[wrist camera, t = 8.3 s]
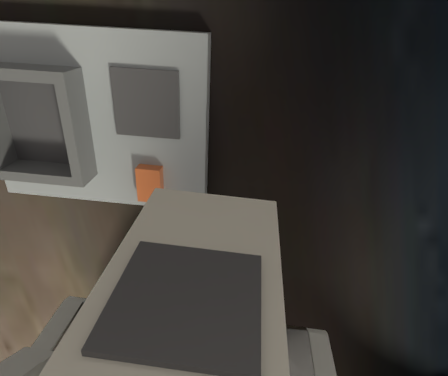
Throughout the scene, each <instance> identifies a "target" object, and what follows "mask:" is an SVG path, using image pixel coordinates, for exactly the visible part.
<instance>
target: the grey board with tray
mask: <svg viewBox="0 0 448 376" xmlns="http://www.w3.org/2000/svg"><path fill="white" fill-rule="evenodd" d="M210 62H211V32H196V31H178V30H161V29H143V28H126V27H109V26H91V25H74V24H57V23H39V22H22V21H5V20H0V180H5V183H6V186H7V189H8V192H12V193H22V194H32V195H43V196H53V197H63V198H73V199H83V200H93V201H104V202H114V203H124V204H134V205H145V204H146V202H147V201H148V199H149V197H150V196H151V194H152V193H153V191H154V189H155V188H162V189H170V190H179V191H188V192H197V193H206V194H207V178H208V139H209V100H210Z"/></svg>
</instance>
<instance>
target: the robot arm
mask: <svg viewBox="0 0 448 376" xmlns="http://www.w3.org/2000/svg"><path fill="white" fill-rule="evenodd" d="M86 299H87V298H80V297H73V296H69V297H68V298H66V299H65V300H64V301H63V302H62V304H61V305H60V306H59V308H58V309H57V311H56V312H55V313H54V315H53V316H52V318H51V319H50V321H49V322H48V323H47V325H46V326H45V328H44V329H43V331H42V332H41V333H40V335H39V336H38V338H37V339H36V340H35V342H34V343H33V345H32V346H31V348H30V347H24V348H22V349H21V350H19V351H18V352H16V353H14V354H13V355H11V356H10V357H8V358H6V359H5V360H3V361H2V362H0V376H39V375H40V373H41V371H42V370H43V368H44V367H45V365H46V363H47V362H48V360H49V359H50V357H51V355H52V354H53V352H54V350H55V349H56V347H57V346H58V344H59V342H60V341H61V339H62V338H63V336H64V334H65V333H66V331H67V329H68V328H69V326H70V325H71V323H72V321H73V320H74V318H75V317H76V315H77V313H78V312H79V310H80V309H81V307H82V305H83V304H84V302H85V300H86ZM286 332H287V345H288V358H289V371H290V376H337V374H336V369H335V365H334V360H333V355H332V351H331V346H330V341H329V337H328V333H327V332H326V330H318V329H311V328H305V327H298V326H290V325H286Z"/></svg>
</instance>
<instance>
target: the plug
mask: <svg viewBox="0 0 448 376" xmlns="http://www.w3.org/2000/svg"><path fill="white" fill-rule="evenodd" d="M39 376H290V371H289V358H288V345H287V332H286V319H285V306H284V293H283V280H282V267H281V255H280V242H279V229H278V216H277V203H276V201H268V200H259V199H251V198H242V197H233V196H224V195H215V194H206V193H197V192H188V191H179V190H170V189H162V188H155V189H154V191H153V193H152V194H151V196H150V197H149V199H148V201H147V202H146V204H145V205H144V207H143V209H142V210H141V212H140V213H139V215H138V217H137V218H136V220H135V222H134V223H133V225H132V226H131V228H130V230H129V231H128V233H127V234H126V236H125V238H124V239H123V241H122V242H121V244H120V246H119V247H118V249H117V251H116V252H115V254H114V255H113V257H112V259H111V260H110V262H109V263H108V265H107V267H106V268H105V270H104V271H103V273H102V275H101V276H100V278H99V280H98V281H97V283H96V284H95V286H94V288H93V289H92V291H91V292H90V294H89V296H88V297H87V299H86V300H85V302H84V304H83V305H82V307H81V309H80V310H79V312H78V313H77V315H76V317H75V318H74V320H73V321H72V323H71V325H70V326H69V328H68V329H67V331H66V333H65V334H64V336H63V338H62V339H61V341H60V342H59V344H58V346H57V347H56V349H55V350H54V352H53V354H52V355H51V357H50V359H49V360H48V362H47V363H46V365H45V367H44V368H43V370H42V371H41V373H40V375H39Z"/></svg>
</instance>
